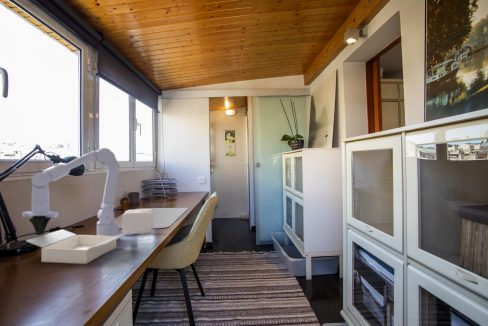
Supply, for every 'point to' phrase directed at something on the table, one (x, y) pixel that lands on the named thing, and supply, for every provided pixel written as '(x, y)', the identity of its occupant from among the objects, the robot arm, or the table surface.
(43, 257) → the carton
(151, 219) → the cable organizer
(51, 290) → the table surface
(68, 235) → the flap
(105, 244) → the flap
